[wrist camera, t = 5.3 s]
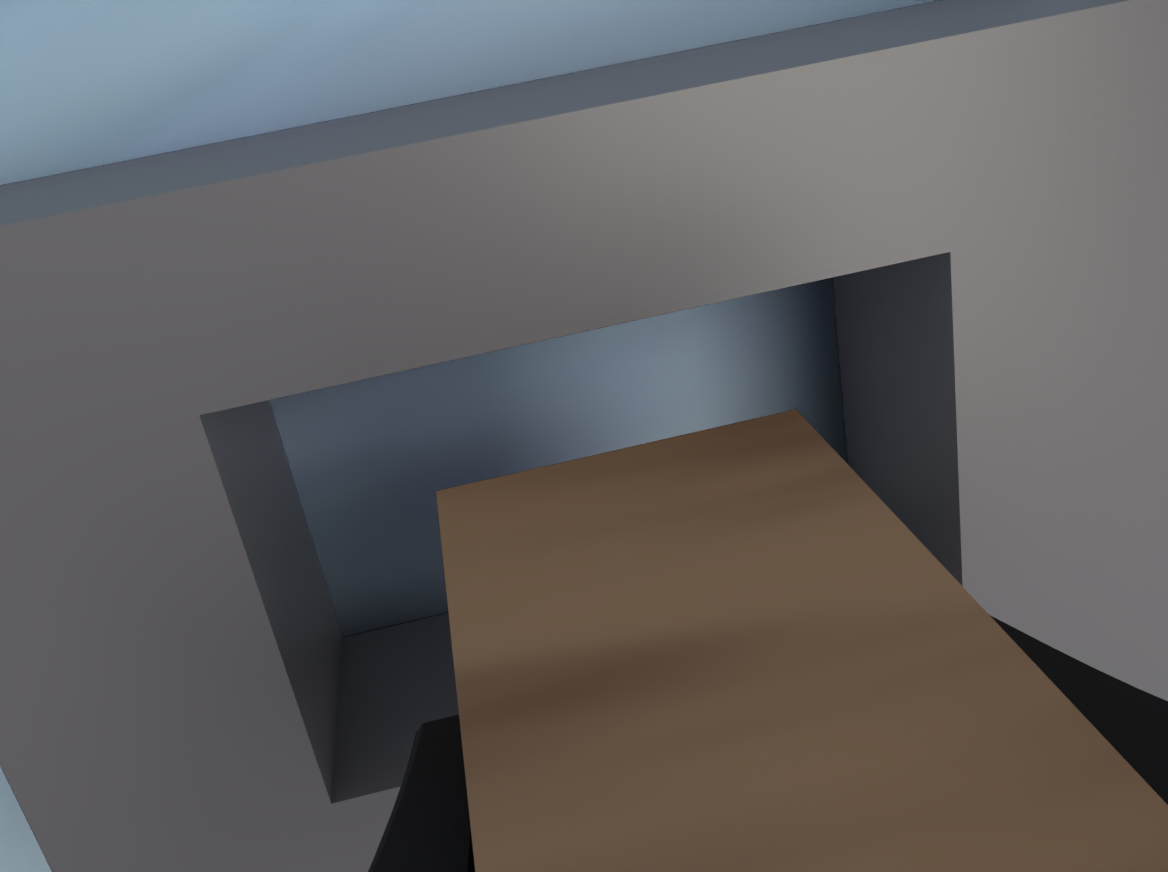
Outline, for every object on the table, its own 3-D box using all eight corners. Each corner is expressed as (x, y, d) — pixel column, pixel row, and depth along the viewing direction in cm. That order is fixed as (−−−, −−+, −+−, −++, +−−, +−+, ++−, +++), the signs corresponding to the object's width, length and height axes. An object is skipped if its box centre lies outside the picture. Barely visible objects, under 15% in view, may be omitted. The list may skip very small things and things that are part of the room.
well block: (1049, 587, 25) (1196, 721, 20) (169, 804, 23) (116, 1003, 19) (1049, -22, 20) (1247, -23, 15) (-82, 201, 18) (-241, 274, 14)
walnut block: (824, 700, 17) (1230, 1373, 9) (509, 780, 17) (633, 1563, 8) (796, 408, 15) (1291, 936, 7) (435, 491, 15) (505, 1158, 6)
